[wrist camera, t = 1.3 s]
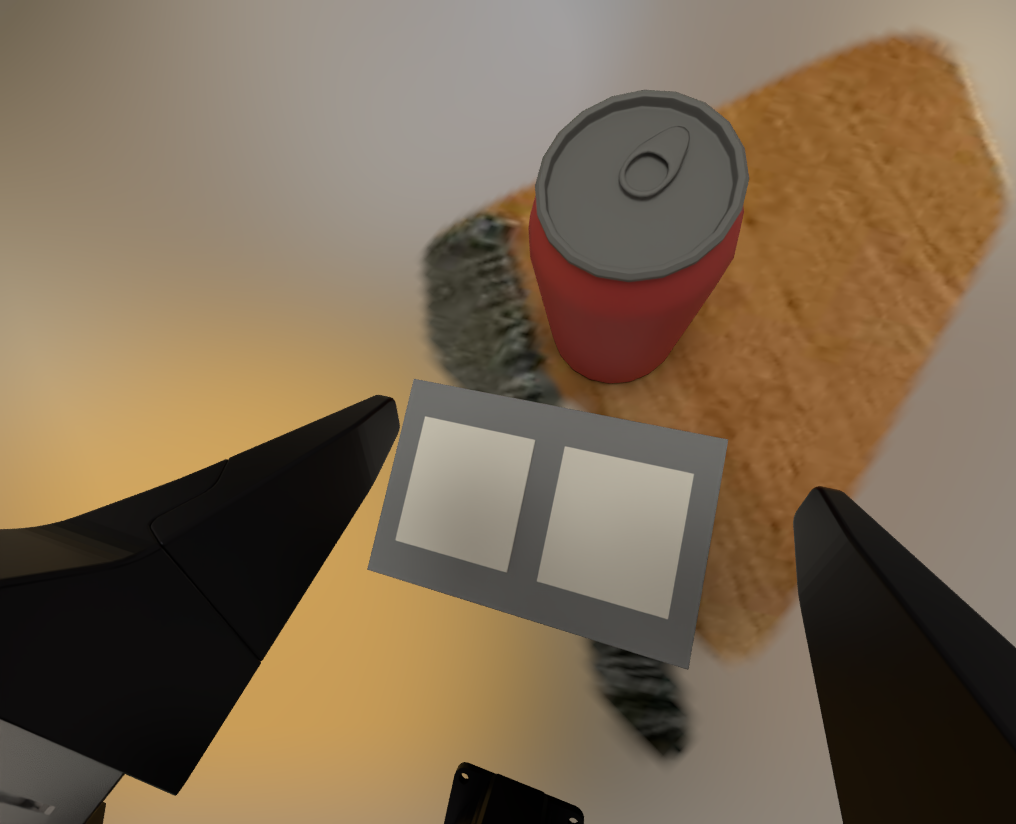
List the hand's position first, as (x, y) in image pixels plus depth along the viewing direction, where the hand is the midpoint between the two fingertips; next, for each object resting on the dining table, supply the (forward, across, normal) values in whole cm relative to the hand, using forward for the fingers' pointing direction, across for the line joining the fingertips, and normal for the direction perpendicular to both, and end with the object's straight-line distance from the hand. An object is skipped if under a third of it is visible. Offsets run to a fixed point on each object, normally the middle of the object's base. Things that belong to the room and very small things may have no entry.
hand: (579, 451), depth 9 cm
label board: (+8, +2, +12) cm, 14 cm away
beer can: (+15, 0, +4) cm, 16 cm away
